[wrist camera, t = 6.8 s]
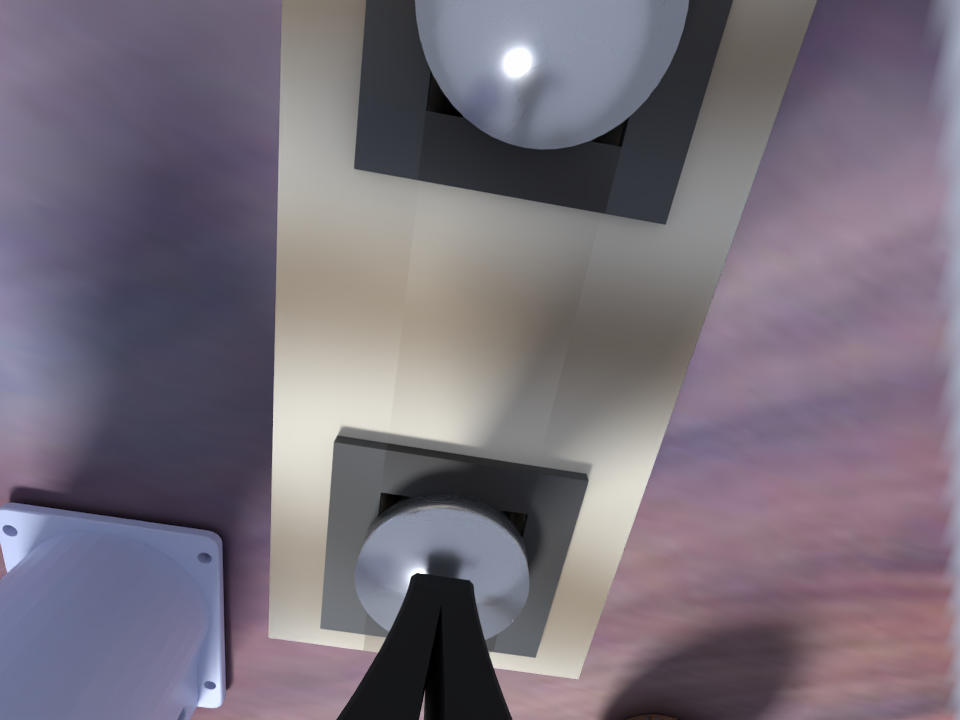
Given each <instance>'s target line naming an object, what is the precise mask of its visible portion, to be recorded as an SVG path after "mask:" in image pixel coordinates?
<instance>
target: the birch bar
mask: <svg viewBox="0 0 960 720" xmlns="http://www.w3.org/2000/svg"><path fill="white" fill-rule="evenodd" d="M816 2H817V0H689V5H688V11H687V16H686V20H685V25H684V29H683V32H682V35H681V38H680V41H679V44H678V47H677V50H676V52H675V54H674V56H673V59H672V61H671V63H670V65H669V67H668V69H667V71H666V72H665V74H664V76H663V77H662V79H661V81H660V82H659V84H658V85H657V87H656V88H655V89H654V90H653V92H652V93H651V94H650V96H649V97H648V98H647V100H646V101H645V102H644V103H643V104H642V105H641V106H640V107H639V108H638V109H637V110H636V111H635V112H634V113H633V114H632V115H631V116H629V117H628V118H627V119H626V120H624V121H623V122H622V123H621V124H620V125H618V126H616V127H615V128H613V129H612V130H610V131H608V132H607V133H605V134H603V135H601V136H599V137H597V138H595V139H593V140H590V141H588V142H585V143H582V144H578V145H575V146H571V147H565V148H560V149H532V148H524V147H520V146H516V145H512V144H508V143H506V142H503V141H501V140H499V139H496V138H494V137H492V136H490V135H488V134H487V133H485V132H483V131H482V130H480V129H478V128H477V127H476V126H475V125H473V124H472V123H471V122H470V121H468V120H467V119H466V118H462V117H457V116H452V115H448V112H449V104H450V101H449V99H448V98H447V97H446V95H445V94H444V93H443V91H442V90H441V88H440V86H439V85H438V83H437V81H436V79H435V78H434V76H433V74H432V72H431V69H430V67H429V65H428V62H427V60H426V58H425V54H424V51H423V48H422V44H421V41H420V37H419V31H418V26H417V20H416V7H415V0H282V27H281V74H280V121H279V168H278V215H277V262H276V309H275V356H274V403H273V450H272V498H271V545H270V592H269V638H275V639H282V640H290V641H297V642H305V643H312V644H320V645H327V646H334V647H342V648H349V649H357V650H364V651H372V652H379V650H380V648H381V647H382V645H383V643H384V641H385V639H386V637H387V635H388V633H389V631H387V630H386V629H384V628H383V627H381V626H380V625H379V624H378V623H377V622H375V621H374V620H373V619H372V617H371V616H370V615H369V614H368V613H367V612H366V610H365V609H364V607H363V606H362V604H361V602H360V600H359V598H358V595H357V592H356V587H355V568H356V563H357V560H358V557H359V554H360V551H361V547H362V544H363V541H364V538H365V536H366V533H367V531H368V529H369V527H370V526H371V524H372V523H373V522H374V520H375V519H376V518H377V517H378V516H379V515H380V514H381V513H382V512H383V511H384V510H386V509H387V508H389V507H390V506H392V505H393V504H395V503H397V502H398V500H399V496H400V495H402V496H408V497H412V496H416V495H420V494H425V493H434V492H448V493H458V494H462V495H467V496H471V497H474V498H477V499H480V500H482V501H484V502H486V503H488V504H490V505H492V506H494V507H495V508H497V509H498V510H502V513H503V514H505V515H506V516H507V517H508V518H509V519H510V520H511V521H512V522H513V523H514V525H515V526H516V527H517V529H518V530H519V532H520V534H521V536H522V538H523V540H524V543H525V546H526V551H527V559H528V570H529V593H528V598H527V600H526V603H525V606H524V607H523V609H522V611H521V613H520V614H519V615H518V617H517V618H516V619H515V620H514V621H513V622H512V623H511V624H510V625H509V626H508V627H507V628H505V629H504V630H503V631H501V632H500V633H498V634H496V635H494V636H493V637H491V638H488V639H486V640H485V642H486V645H487V649H488V652H489V655H490V658H491V661H492V665H493V668H499V669H506V670H513V671H521V672H528V673H536V674H543V675H551V676H558V677H566V678H573V679H578V678H579V675H580V672H581V670H582V667H583V664H584V661H585V658H586V655H587V653H588V650H589V647H590V644H591V641H592V638H593V635H594V633H595V630H596V627H597V624H598V621H599V618H600V616H601V613H602V610H603V607H604V604H605V601H606V599H607V596H608V593H609V590H610V587H611V584H612V582H613V579H614V576H615V573H616V570H617V567H618V565H619V562H620V559H621V556H622V553H623V550H624V547H625V545H626V542H627V539H628V536H629V533H630V530H631V528H632V525H633V522H634V519H635V516H636V513H637V511H638V508H639V505H640V502H641V499H642V496H643V494H644V491H645V488H646V485H647V482H648V479H649V477H650V474H651V471H652V468H653V465H654V462H655V459H656V457H657V454H658V451H659V448H660V445H661V442H662V440H663V437H664V434H665V431H666V428H667V425H668V423H669V420H670V417H671V414H672V411H673V408H674V406H675V403H676V400H677V397H678V394H679V391H680V389H681V386H682V383H683V380H684V377H685V374H686V371H687V369H688V366H689V363H690V360H691V357H692V354H693V352H694V349H695V346H696V343H697V340H698V337H699V335H700V332H701V329H702V326H703V323H704V320H705V318H706V315H707V312H708V309H709V306H710V303H711V300H712V298H713V295H714V292H715V289H716V286H717V283H718V281H719V278H720V275H721V272H722V269H723V266H724V264H725V261H726V258H727V255H728V252H729V249H730V247H731V244H732V241H733V238H734V235H735V232H736V230H737V227H738V224H739V221H740V218H741V215H742V212H743V210H744V207H745V204H746V201H747V198H748V195H749V193H750V190H751V187H752V184H753V181H754V178H755V176H756V173H757V170H758V167H759V164H760V161H761V159H762V156H763V153H764V150H765V147H766V144H767V142H768V139H769V136H770V133H771V130H772V127H773V124H774V122H775V119H776V116H777V113H778V110H779V107H780V105H781V102H782V99H783V96H784V93H785V90H786V88H787V85H788V82H789V79H790V76H791V73H792V71H793V68H794V65H795V62H796V59H797V56H798V54H799V51H800V48H801V45H802V42H803V39H804V36H805V34H806V31H807V28H808V25H809V22H810V19H811V17H812V14H813V11H814V8H815V5H816Z"/></svg>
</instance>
